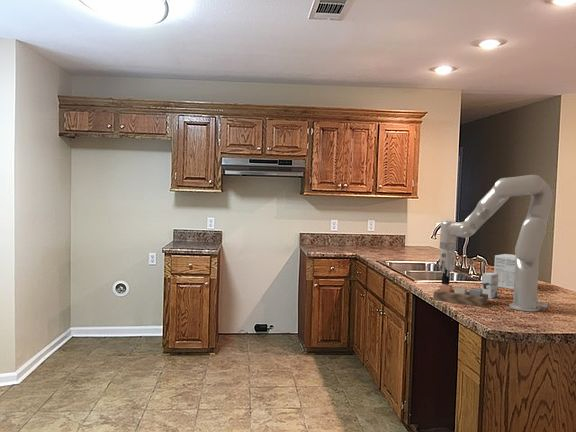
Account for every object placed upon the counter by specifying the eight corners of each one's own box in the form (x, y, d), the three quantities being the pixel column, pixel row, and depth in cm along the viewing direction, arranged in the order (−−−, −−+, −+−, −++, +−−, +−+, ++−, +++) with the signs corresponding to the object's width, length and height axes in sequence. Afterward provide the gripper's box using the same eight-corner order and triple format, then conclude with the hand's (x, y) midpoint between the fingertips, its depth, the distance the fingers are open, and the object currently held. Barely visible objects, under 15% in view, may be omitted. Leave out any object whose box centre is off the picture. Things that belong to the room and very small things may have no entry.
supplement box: (516, 290, 262) (518, 258, 261) (492, 286, 272) (494, 255, 271) (527, 287, 271) (528, 256, 270) (503, 283, 281) (505, 253, 280)
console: (487, 302, 229) (488, 294, 229) (481, 307, 219) (481, 298, 219) (441, 295, 242) (442, 287, 242) (433, 299, 232) (433, 291, 232)
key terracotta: (452, 293, 235) (452, 285, 235) (449, 294, 232) (449, 286, 231) (442, 291, 238) (443, 283, 238) (439, 293, 234) (440, 285, 234)
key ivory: (467, 296, 231) (467, 287, 231) (464, 297, 227) (464, 289, 227) (457, 294, 234) (457, 286, 234) (454, 296, 230) (454, 287, 230)
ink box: (488, 294, 248) (489, 271, 247) (497, 296, 244) (498, 273, 244) (480, 297, 242) (481, 273, 241) (490, 298, 238) (491, 275, 238)
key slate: (482, 297, 227) (482, 289, 227) (479, 299, 223) (480, 290, 223) (472, 296, 230) (472, 288, 230) (469, 297, 226) (469, 289, 226)
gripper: (450, 248, 225) (448, 287, 227) (460, 246, 238) (458, 283, 239) (434, 246, 230) (432, 285, 231) (445, 244, 242) (442, 280, 243)
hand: (445, 284), depth 235 cm, fingers closed
